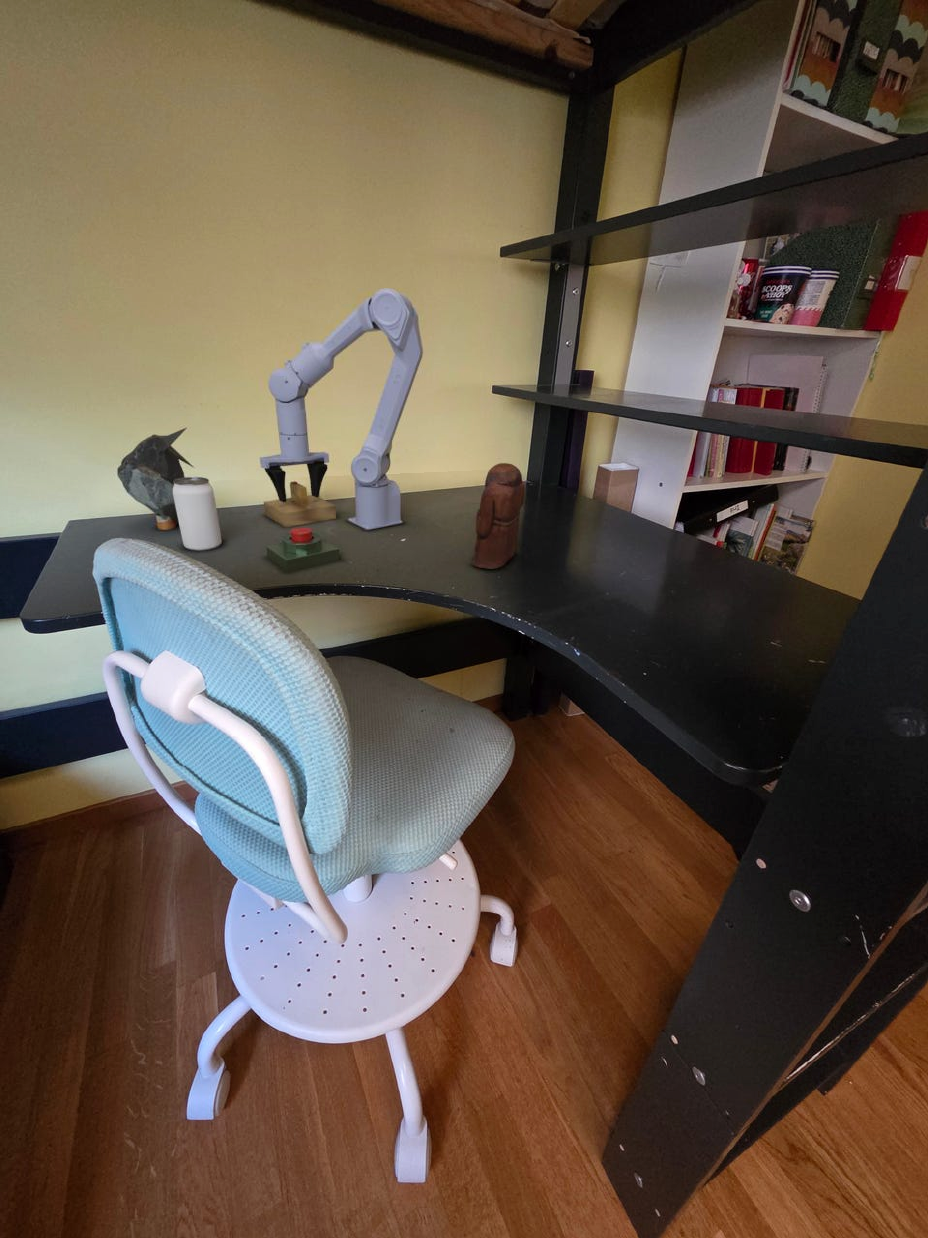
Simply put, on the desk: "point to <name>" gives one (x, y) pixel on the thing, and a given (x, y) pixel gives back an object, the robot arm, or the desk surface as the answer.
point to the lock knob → (298, 494)
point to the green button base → (302, 553)
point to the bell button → (301, 534)
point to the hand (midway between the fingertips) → (299, 498)
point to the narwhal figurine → (154, 476)
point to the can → (197, 513)
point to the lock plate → (299, 511)
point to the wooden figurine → (499, 516)
